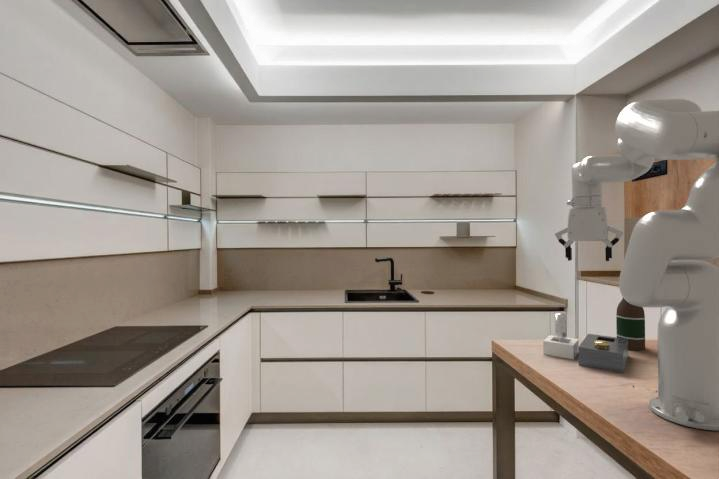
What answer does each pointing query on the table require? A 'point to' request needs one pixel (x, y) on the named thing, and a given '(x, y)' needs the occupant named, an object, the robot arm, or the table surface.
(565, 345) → the holder
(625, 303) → the beer bottle
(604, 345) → the key
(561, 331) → the silver rounded peg
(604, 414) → the table surface
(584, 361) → the socket block
